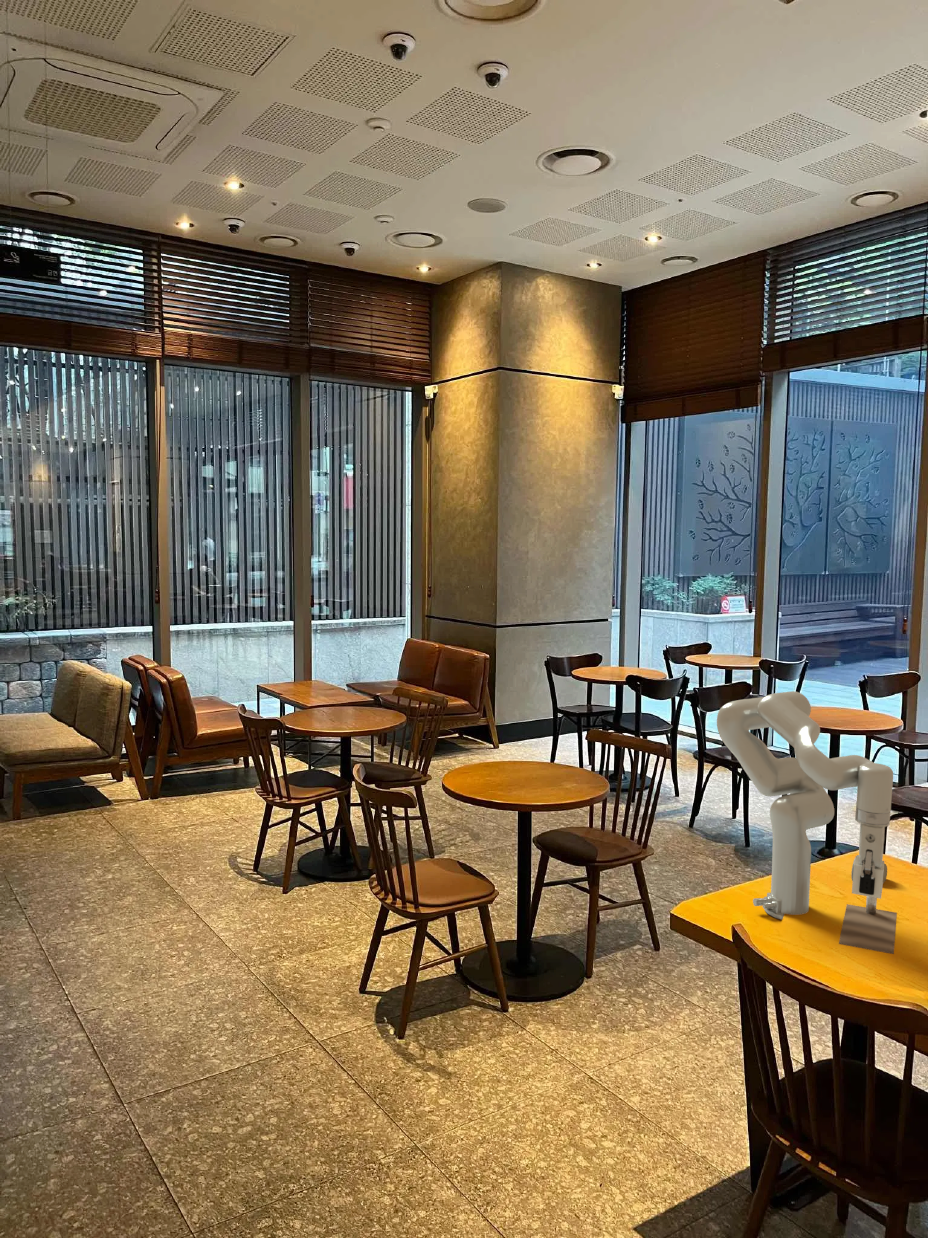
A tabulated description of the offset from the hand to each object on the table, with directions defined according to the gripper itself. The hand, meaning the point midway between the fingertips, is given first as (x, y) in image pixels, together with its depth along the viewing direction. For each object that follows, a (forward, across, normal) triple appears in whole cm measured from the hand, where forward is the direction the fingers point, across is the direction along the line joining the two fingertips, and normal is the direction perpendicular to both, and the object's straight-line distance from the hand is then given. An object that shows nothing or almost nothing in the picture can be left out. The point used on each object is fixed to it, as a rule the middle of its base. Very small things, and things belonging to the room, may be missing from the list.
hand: (867, 887), depth 224 cm
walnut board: (+15, +8, -1) cm, 17 cm away
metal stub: (+14, +18, -1) cm, 23 cm away
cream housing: (+1, 0, 0) cm, 1 cm away
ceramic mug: (+16, +44, +1) cm, 47 cm away
